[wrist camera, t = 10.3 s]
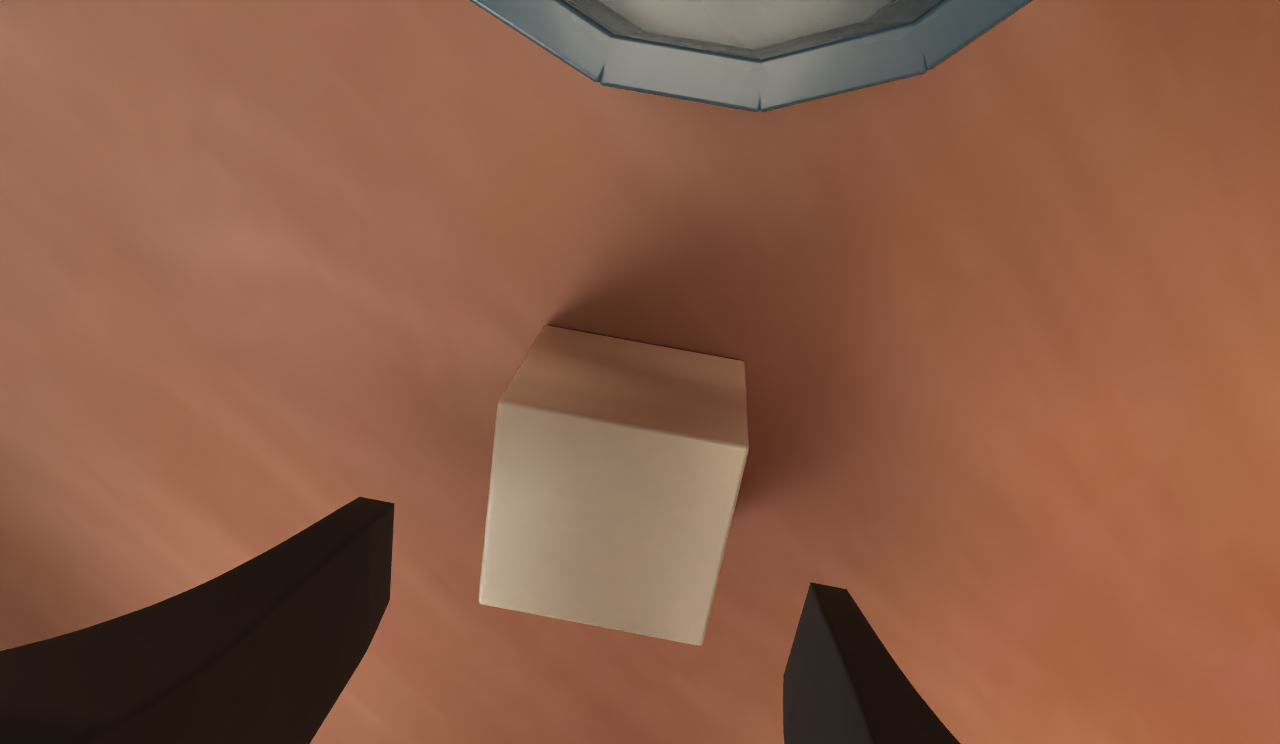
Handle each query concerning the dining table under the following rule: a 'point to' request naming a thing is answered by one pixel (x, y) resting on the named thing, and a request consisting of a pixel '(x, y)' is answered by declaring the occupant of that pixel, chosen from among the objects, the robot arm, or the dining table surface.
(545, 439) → the block
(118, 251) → the dining table surface
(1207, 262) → the dining table surface
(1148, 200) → the dining table surface
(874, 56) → the tin
